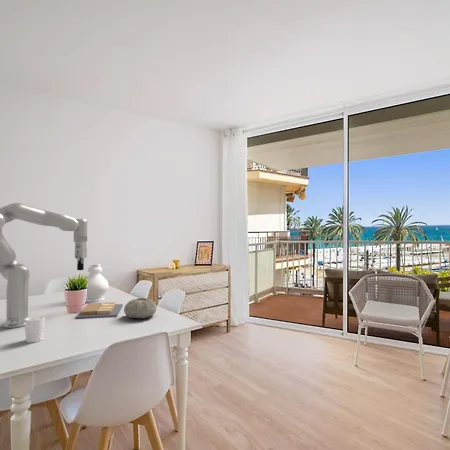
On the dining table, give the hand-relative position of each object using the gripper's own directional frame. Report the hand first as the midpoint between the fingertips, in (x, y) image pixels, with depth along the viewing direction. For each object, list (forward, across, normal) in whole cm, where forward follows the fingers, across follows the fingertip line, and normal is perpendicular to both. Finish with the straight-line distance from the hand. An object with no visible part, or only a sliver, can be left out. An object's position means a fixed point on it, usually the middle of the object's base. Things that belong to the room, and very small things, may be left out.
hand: (80, 269), depth 191 cm
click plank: (+24, -2, -15) cm, 29 cm away
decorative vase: (+25, +32, -2) cm, 41 cm away
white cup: (+25, -47, +8) cm, 54 cm away
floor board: (+25, -2, -12) cm, 28 cm away
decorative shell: (+25, -18, -36) cm, 48 cm away
